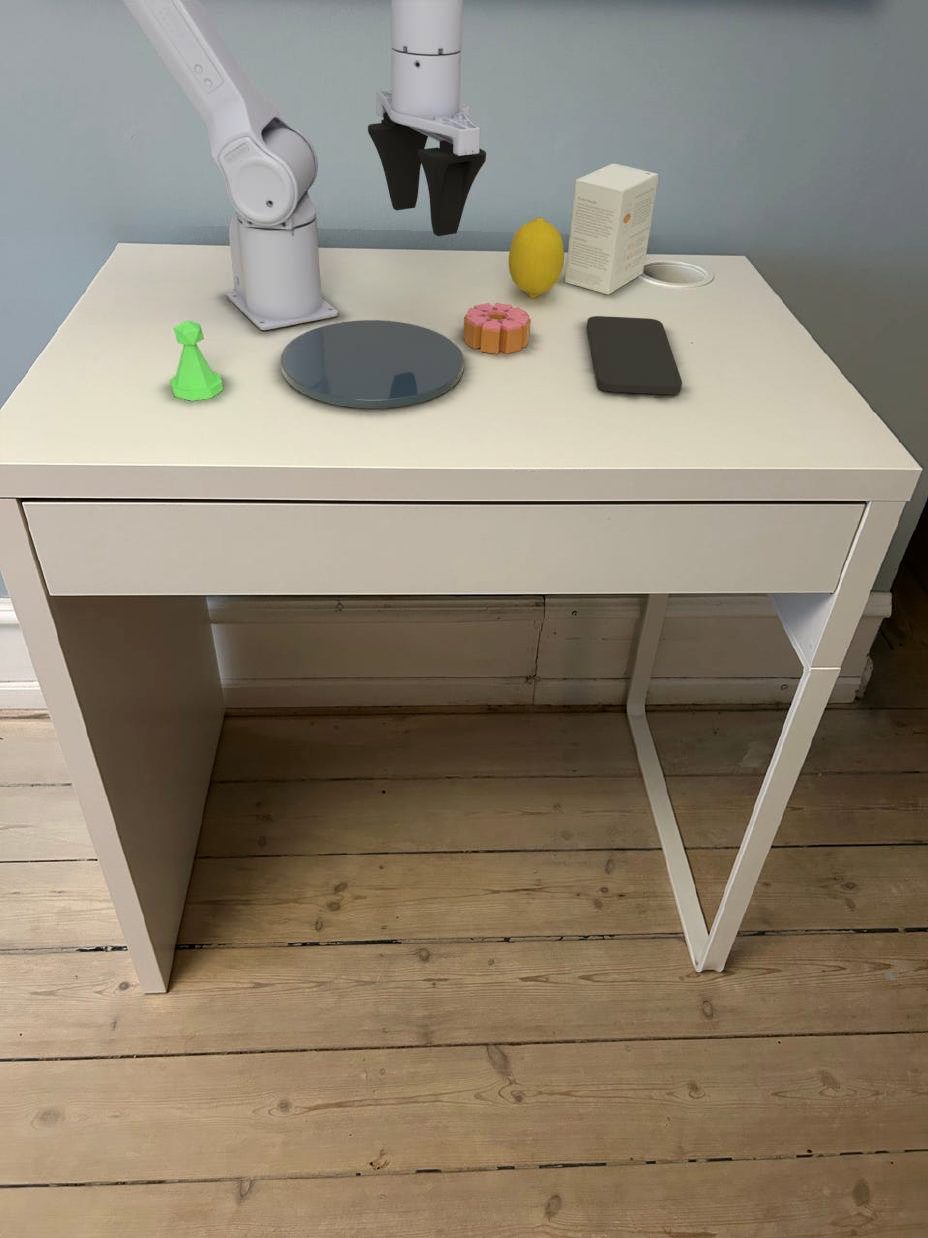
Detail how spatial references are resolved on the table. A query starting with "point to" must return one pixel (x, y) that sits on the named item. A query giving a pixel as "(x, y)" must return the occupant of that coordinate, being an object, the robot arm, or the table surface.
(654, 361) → the phone
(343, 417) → the table surface
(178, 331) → the game piece
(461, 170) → the robot arm
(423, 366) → the plate
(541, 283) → the lemon
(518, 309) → the donut
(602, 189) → the small box
